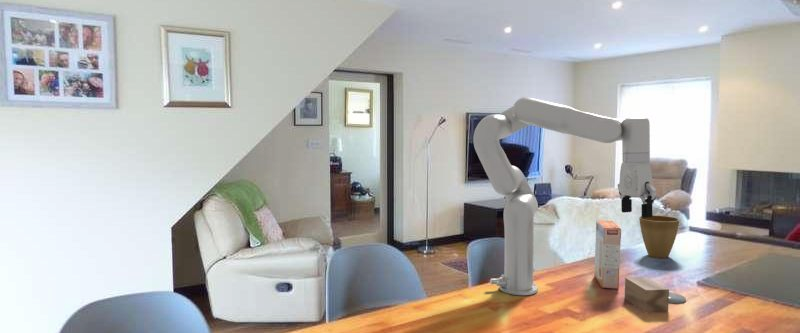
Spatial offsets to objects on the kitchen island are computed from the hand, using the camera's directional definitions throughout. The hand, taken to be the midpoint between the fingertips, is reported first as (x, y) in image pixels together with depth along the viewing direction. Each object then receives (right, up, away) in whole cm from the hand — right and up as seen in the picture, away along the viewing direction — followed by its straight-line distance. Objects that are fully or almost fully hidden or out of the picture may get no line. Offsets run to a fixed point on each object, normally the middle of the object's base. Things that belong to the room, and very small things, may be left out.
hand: (636, 214), depth 155 cm
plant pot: (+36, -23, +58) cm, 71 cm away
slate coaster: (+14, -27, +7) cm, 31 cm away
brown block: (+3, -28, +1) cm, 28 cm away
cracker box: (0, -26, +23) cm, 35 cm away
